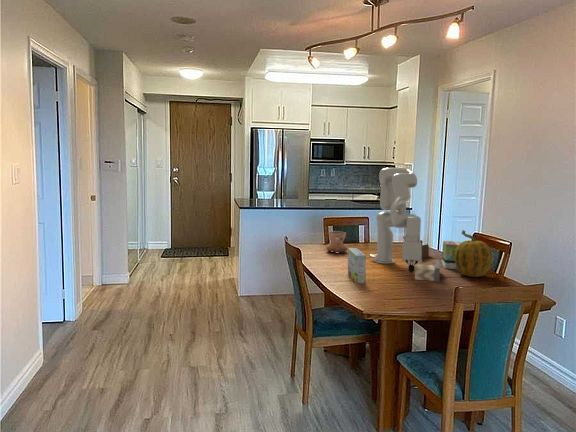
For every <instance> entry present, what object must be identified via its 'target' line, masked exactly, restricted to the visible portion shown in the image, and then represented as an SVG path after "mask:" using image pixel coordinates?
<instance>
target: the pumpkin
mask: <svg viewBox="0 0 576 432" xmlns="http://www.w3.org/2000/svg"><path fill="white" fill-rule="evenodd" d="M461 235H463V236H464V237H466V238H468V239H471V240H464V241H462V242H460V244H459V245H458V246H457V248H456V251H455V264H456V268H457V269H456V270H457V271H458V273H460V274H461V275H463V276H466V277H471V278H472V277H473V278H476V277H477V278H478V277H483V276H484V275H485V274H486V273H488V272H489V270H490V268H491V265H492V262H493V254H492V253H493V252H492V250H491V247H490V246H489V245H488V244H487V243H486V242H484V241H483V240H482V241H481V240H476V238H475V237H474V236H473V235H471V234H469V233H468V234H467V233H466V230H464V229H462V230H461Z"/></svg>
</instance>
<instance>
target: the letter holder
mask: <svg viewBox="0 0 576 432" xmlns="http://www.w3.org/2000/svg"><path fill="white" fill-rule="evenodd" d="M404 241H406V240H405V239H404ZM420 242H421V245H422V260H423V259H425V258H428V257H429V255H430V254H429V253H430V252H429V251H430V246H429V244H423V242H424V241H423V240H421V239H420Z"/></svg>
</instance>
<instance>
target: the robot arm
mask: <svg viewBox="0 0 576 432" xmlns="http://www.w3.org/2000/svg"><path fill="white" fill-rule="evenodd" d="M378 175H379V176H378V178H379V180H378V181H379V183H380V196H379V197H380V198H379V199H380V200H379V206H380V209H381V210H384V211H381V212H379V213H378V214H376V225H377V226H376V227H377V228H376V229H377V242H376V243H377V244H376V245H377V246H376V247H377V249H376V254H369V258H370V259H373V260H374V261H373V262H375V263H377V264H383V265H384V264H385V265H386V264H387V265H388V264H394V263H396V262H395V259H393V251H394V250H393V247H394V245H393V243H394V234H393V231H392V230H391V229H390V228H396V229H404V228H405V235H404V236H402V240H404V241H403V244H402V253H401V257H402V258H401V261H402V262H404V263H406V264H407V265H408V271H409V273H411V274H413V272H415V266H416V264H419V263H422V262H423V259H422V246H423V244H422V245H421V242H420V240H421V224H422V219H421V217H420V216H417V215H416V214H414V213H409V214H408V213H407V212H406V211H407V202H408V201H409V200H410V199H411V193H410V189H413V188H416V187H417V184H418V177H417V176H416V174H415V172H414V171H412V170H410V169H409V168H407V167H384V168H382V169H380V171H379V174H378ZM405 240H406V241H405ZM411 261H413V262H412V263H411Z"/></svg>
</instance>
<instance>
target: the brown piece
mask: <svg viewBox="0 0 576 432" xmlns="http://www.w3.org/2000/svg"><path fill="white" fill-rule="evenodd" d="M346 236H347V232H344V231H340V230H332V231H331V230H330V231H328V237H329V240H330V243H328V244H327V245H326V250H327V251H328V252H329V251H333V252H343V253H345V252H348V246H347V245H346V244H345V243H344V241H345V239H346ZM344 251H345V252H344Z"/></svg>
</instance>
